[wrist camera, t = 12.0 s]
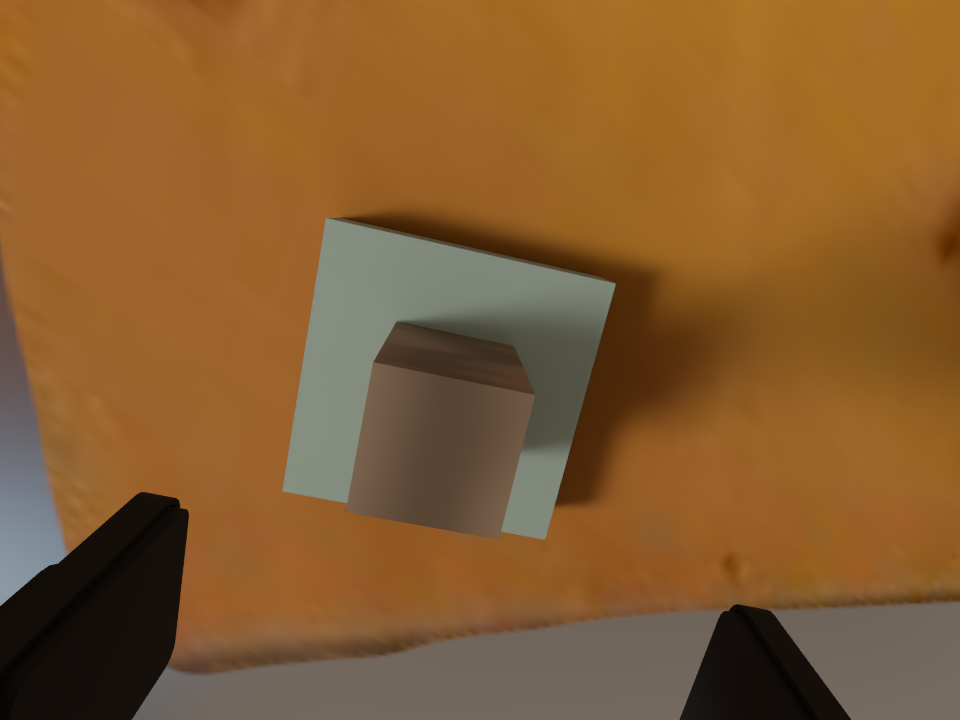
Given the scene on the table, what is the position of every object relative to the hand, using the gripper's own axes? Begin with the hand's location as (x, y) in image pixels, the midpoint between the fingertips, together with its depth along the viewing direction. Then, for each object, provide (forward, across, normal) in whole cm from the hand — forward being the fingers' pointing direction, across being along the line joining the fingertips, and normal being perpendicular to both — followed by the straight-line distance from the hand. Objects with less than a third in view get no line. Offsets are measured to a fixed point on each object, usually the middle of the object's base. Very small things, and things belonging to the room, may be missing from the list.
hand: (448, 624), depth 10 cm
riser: (+18, +1, +1) cm, 18 cm away
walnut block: (+15, +1, +1) cm, 15 cm away
